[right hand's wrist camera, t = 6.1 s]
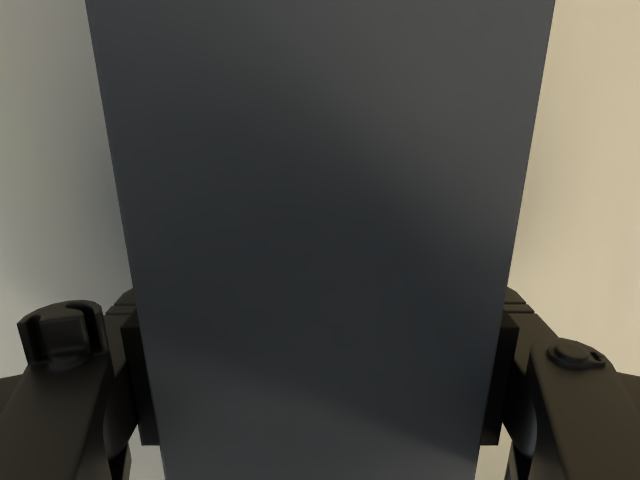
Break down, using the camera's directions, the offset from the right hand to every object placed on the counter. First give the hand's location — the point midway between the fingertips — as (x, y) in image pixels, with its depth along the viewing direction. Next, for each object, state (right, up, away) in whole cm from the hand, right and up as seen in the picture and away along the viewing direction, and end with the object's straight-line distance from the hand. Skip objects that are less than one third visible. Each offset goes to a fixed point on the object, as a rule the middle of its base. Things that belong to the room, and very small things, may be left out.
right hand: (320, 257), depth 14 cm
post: (0, +24, -8) cm, 25 cm away
